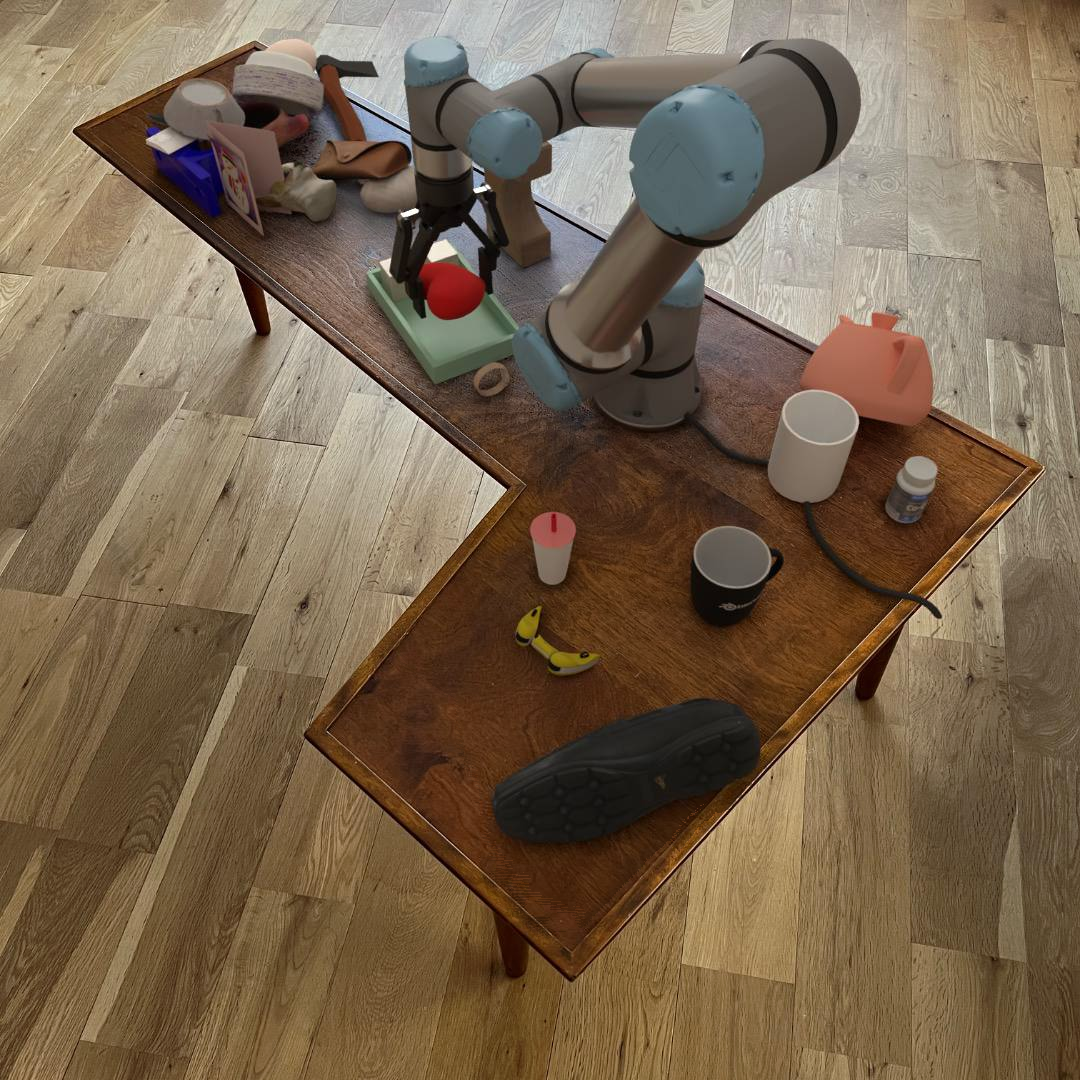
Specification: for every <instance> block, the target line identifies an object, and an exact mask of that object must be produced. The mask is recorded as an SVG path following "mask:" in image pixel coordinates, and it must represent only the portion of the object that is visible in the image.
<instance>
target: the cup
mask: <svg viewBox="0 0 1080 1080" xmlns="http://www.w3.org/2000/svg"><path fill="white" fill-rule="evenodd" d="M529 531H530V536H531V538H532V545H533V550H534V556H535V561H536V568H537V575H538V578H539V579H540V581H541V582H543V583H544V584H547V585H553V586H554V585H559V584H560V583H562V582H563V581H564V580H565V578H566V576H567V573H568V567H569V563H570V558H571V552H572V549H573V544H574V543H573V542H574V539H575V536H576V533H577V527H576V524H575V521H574V520H573V519H572V518H570V516H568V515H567V514H564V513H562V512H558V511H548V512H544V513H542V514H539V515H537V517H535V518H534V519H533V520H532V521H531V524H530V527H529Z"/></svg>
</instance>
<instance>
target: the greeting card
mask: <svg viewBox="0 0 1080 1080" xmlns="http://www.w3.org/2000/svg"><path fill="white" fill-rule="evenodd" d="M206 124H207V128H208V132H209V136H208V135H207V136H208V137H209V138H210V140H209V141H210V143H211V147H212V149H213V151H214V154H215V158H216V162H217V166H218V169H219V173H220V177H221V181H222V184H223V188H224V192H223V193H224V195H225V199H226V203H227V204H228V206H230V208H231V209H233V210H234V211H235V212H236V213H238V215H240V216H241V217H242V218H243V219H244V220H245V221H246V222H247V223H248V224H249V225H251V227H252V228H254V229H255V230H256V231H257V232H258V233H259V234H261V236H262V237H265V233H264V229H263V226H262V222H261V221H262V220H261V218H260V214H259V210H264V211H268V212H269V211H270V212H275V213H282V214H287V215H292V214H293V211H291V210H287V209H284V208H281V207H275V208H269V207H262V206H260V205H258V204H256V201H255V196H254V192H253V191H255V192H257V193H258V194H260V195H266V194H269V193H270V188H271V187H272V185H273V184H274V183H275V182H277V181H283V180H284V181H285V179H284V175H283V170H282V165H283V164H282V162H281V161H282V160H281V157H280V152H279V148H278V147H277V142H276V137H275V132H274V131H268V130H261V129H255V128H249V127H243V126H237V125H230V124H224V123H218V122H212V121H206Z"/></svg>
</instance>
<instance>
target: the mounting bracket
mask: <svg viewBox="0 0 1080 1080" xmlns="http://www.w3.org/2000/svg"><path fill="white" fill-rule="evenodd" d="M160 131H161V129H160V128H158V127H157V126H156V125H154V126H152V127H150V128H147V129H145V133H146V136H147V139H148V138H150V137H152V136H154V135H156V134H157V133H159V132H160ZM199 141H200V140H199V139H198V140H194V141H193V142H191V143H189V144H187V145H185V146H184V147H182V148H180V149H178V150H176V151H174V152H173V153H171V154H167V153H164V152H162V151H160V150H158V149H156V148H154V147H152V146H150V148H151V151H152V154H153V158H154V161H155V163H156V167H157V169H158V170H159V171H160V172H161V173H163V175H164V176H166V177H167V178H168V179H169V180H170V181H171V182H172V183H174V184H175V185H176V187H178V188H179V189H180V190H181V191H182V192H183V193H184V194H185V195H186V196H188V197H189V198H190V199H191V200H192V201H193V202H194V203H195V204H196V205H197V206H199V207H200V208H201V209H202V210H203V211H204V212H205V213H206V214H207V215H208V216H209V217H210V218H212V219H213V218H215V217H217V216H219V215H221V214H222V209H221V206H220V203H219V199H218V195H221V194H222V193H225V192H224V188H223V184H222V181H221V177H220V173H219V169H218V166H217V162H216V158H215V154H214V151H213V148H212V149H208V150H202V149H201V145H200V142H199Z"/></svg>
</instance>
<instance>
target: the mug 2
mask: <svg viewBox="0 0 1080 1080" xmlns="http://www.w3.org/2000/svg"><path fill="white" fill-rule="evenodd" d="M779 418H780V419H779V421H778V425H777V428H776V433H775V437H774V441H773V445H772V449H771V452H770V456H769V460H768V461H769V464H768V467H767V477H768V480H769V483H770V485H771V486H772V487H773V489H774V490H775V491H776V492H777V493H778V494H779V495H781V496H782V497H784V498H786V499H789V500H790V501H794V502H798V503H801V504H803V502H805V501H809V502H810V504H812V503H818V502H821V501H825V500H826V499H828V498H830V497H831V496H832V495H833V494H834V493H835V491H836V490H837V488H838V487H839V485H840V482H841V479H842V476H843V473H844V471H845V467H846V464H847V462H848V459H849V456H850V453H851V450H852V446H853V444H854V441H855V438H856V435H857V432H858V429H859V424H860V418H859V415H858V414H857V412H856V410H855V408H854V407H853V406H852V405H851V404H850V403H849V402H848V401H847V400H845V399H844V398H842V397H841V396H839V395H836V394H834V393H832V392H827V391H823V390H807V391H799V392H797V393H794V394H793V395H792V396H790V397H788V398H787V400H786V401H785V403H783V407H782V410H781V414H780V417H779Z"/></svg>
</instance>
